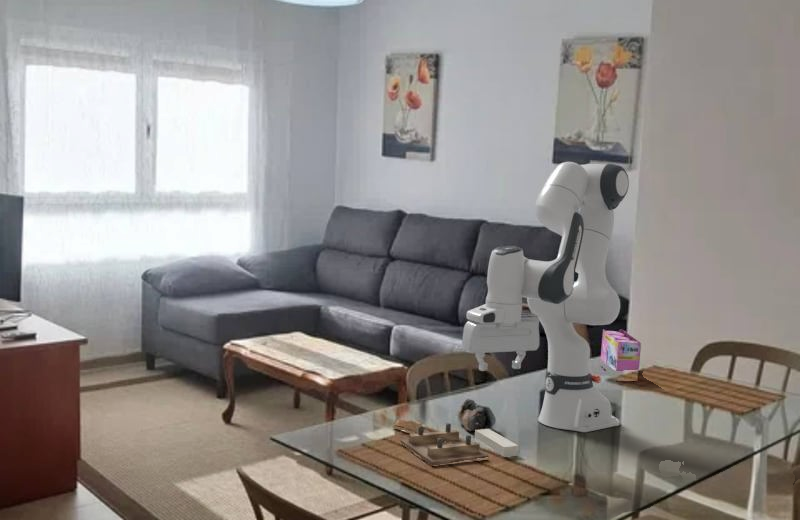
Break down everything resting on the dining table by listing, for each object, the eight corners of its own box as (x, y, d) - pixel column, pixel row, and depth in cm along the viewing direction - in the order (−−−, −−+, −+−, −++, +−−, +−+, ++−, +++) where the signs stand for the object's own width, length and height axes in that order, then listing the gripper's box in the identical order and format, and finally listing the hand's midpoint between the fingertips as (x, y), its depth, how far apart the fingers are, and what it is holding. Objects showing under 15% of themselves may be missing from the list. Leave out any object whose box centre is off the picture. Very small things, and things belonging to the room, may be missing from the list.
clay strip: (488, 440, 223) (488, 428, 222) (517, 457, 210) (518, 445, 210) (474, 441, 221) (475, 430, 221) (503, 459, 208) (504, 447, 208)
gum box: (598, 365, 315) (601, 328, 313) (620, 366, 315) (623, 329, 313) (615, 381, 291) (618, 341, 289) (638, 382, 291) (641, 342, 289)
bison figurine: (464, 420, 238) (440, 425, 231) (467, 395, 238) (442, 399, 231) (499, 432, 230) (475, 437, 223) (502, 405, 230) (478, 410, 222)
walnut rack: (453, 438, 221) (454, 418, 221) (488, 460, 206) (489, 438, 205) (400, 444, 215) (401, 423, 214) (431, 467, 199) (432, 444, 199)
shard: (421, 440, 220) (421, 433, 220) (390, 438, 220) (391, 431, 220) (422, 427, 231) (422, 421, 231) (393, 425, 231) (393, 419, 231)
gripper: (532, 310, 219) (528, 364, 220) (460, 312, 210) (457, 368, 212) (546, 314, 213) (542, 370, 215) (473, 316, 205) (470, 374, 206)
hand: (499, 369), depth 213 cm, fingers open, 8 cm apart
